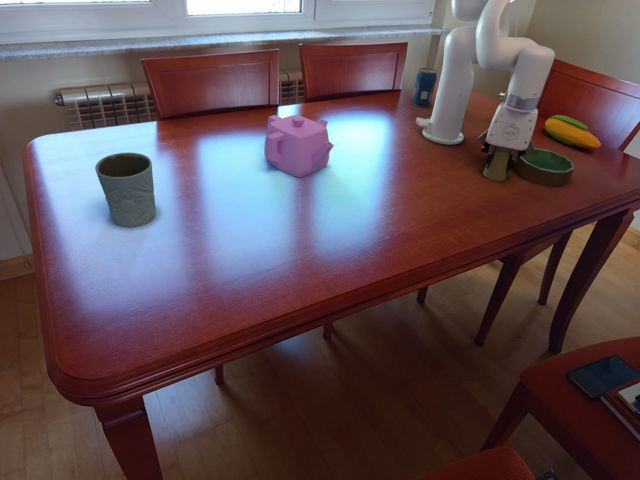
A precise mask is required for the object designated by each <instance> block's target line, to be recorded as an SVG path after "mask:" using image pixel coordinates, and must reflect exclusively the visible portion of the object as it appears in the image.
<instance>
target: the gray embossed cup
mask: <svg viewBox="0 0 640 480" xmlns="http://www.w3.org/2000/svg"><path fill="white" fill-rule="evenodd" d="M94 167H95V168H94V169H95V173H96V176H97V178H98V181H99V184H100V186H101V189H102V191H103V194H104V196H105V201H106V203H107V206H108V209H109V214H110V218H111V220H112V221H113V223H114V224H115V225H117V226H120V227H124V228H137V227H140V226H144V225H147V224H148V223H149V224H150V222H152V221H153V220H154V219H155V217H156V215H157V210H156V209H157V208H156V198H155V187H154V186H155V185H154V177H153V174H154V173H153V162H152V160H151V158H150V157H148V156H147V155H145V154H142V153H139V152H119V153H114V154H110V155H107V156H105V157H102V158H101V159H99V160H98V161H97V163H96V164H95V166H94Z"/></svg>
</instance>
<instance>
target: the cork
mask: <svg viewBox="0 0 640 480" xmlns="http://www.w3.org/2000/svg"><path fill="white" fill-rule="evenodd" d="M511 152H513V149H509V148H506V147H500V146H496V148H495V150H494V153H493V159H492V161H491V163H490V165H489V168H488V169H487V165H486V166H485V168H484V170H483V172H482V175H483V177H485V178H487V179H488V180H491V181H495V182H503V181H506V179H507V176H508V172H507V173H505V172H506V168H507V164H508V161H509V159H510V157H511Z"/></svg>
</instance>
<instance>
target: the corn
mask: <svg viewBox="0 0 640 480" xmlns="http://www.w3.org/2000/svg"><path fill="white" fill-rule="evenodd" d="M544 129H545V131H546V132H547V133H548V135H550V136H551V137H552V138H553V139H556V140H558V141H560V142H561V143H563V144H565V145H567V146H570V147H574V146H577V147H580V148H585V149H592V150H595V149H599V148H600V147H601V145H602V144H601V142H600V140H599V139H598V138H597V137H596V136H595V135H593V133H591V132H590V131H588V129H589V127H588V126H587V125H586V124H584V123H583V122H581V121H579V120H577V119H574V118H571V117H570V116H566V115H559V114H558V115H557V114H556V115H553V116H549V117H548V118H547V119H546V121H545V123H544Z"/></svg>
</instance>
